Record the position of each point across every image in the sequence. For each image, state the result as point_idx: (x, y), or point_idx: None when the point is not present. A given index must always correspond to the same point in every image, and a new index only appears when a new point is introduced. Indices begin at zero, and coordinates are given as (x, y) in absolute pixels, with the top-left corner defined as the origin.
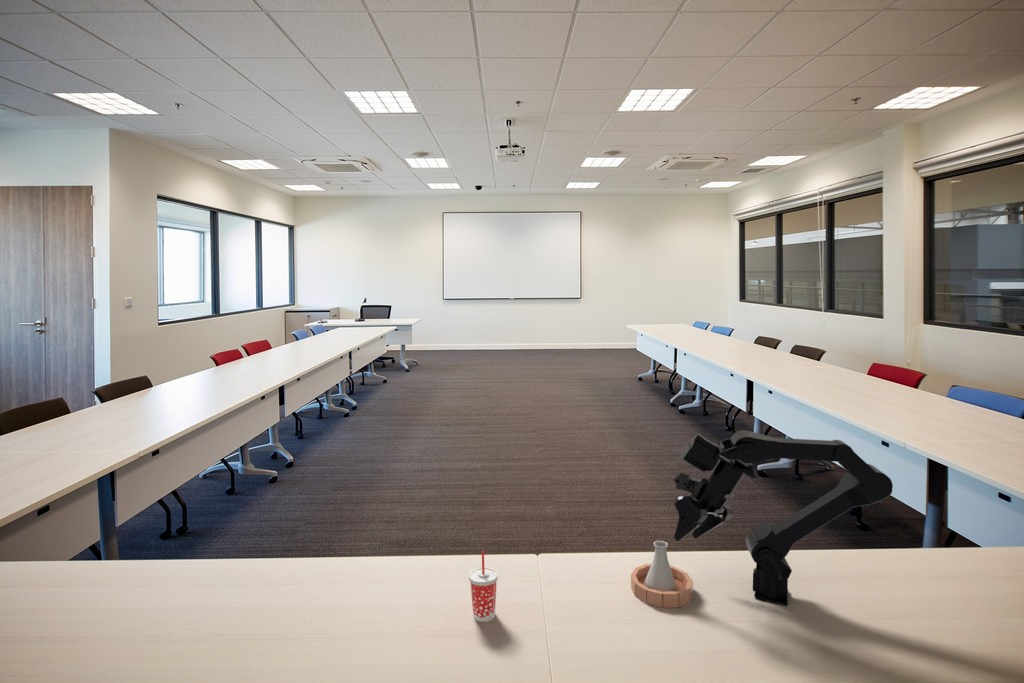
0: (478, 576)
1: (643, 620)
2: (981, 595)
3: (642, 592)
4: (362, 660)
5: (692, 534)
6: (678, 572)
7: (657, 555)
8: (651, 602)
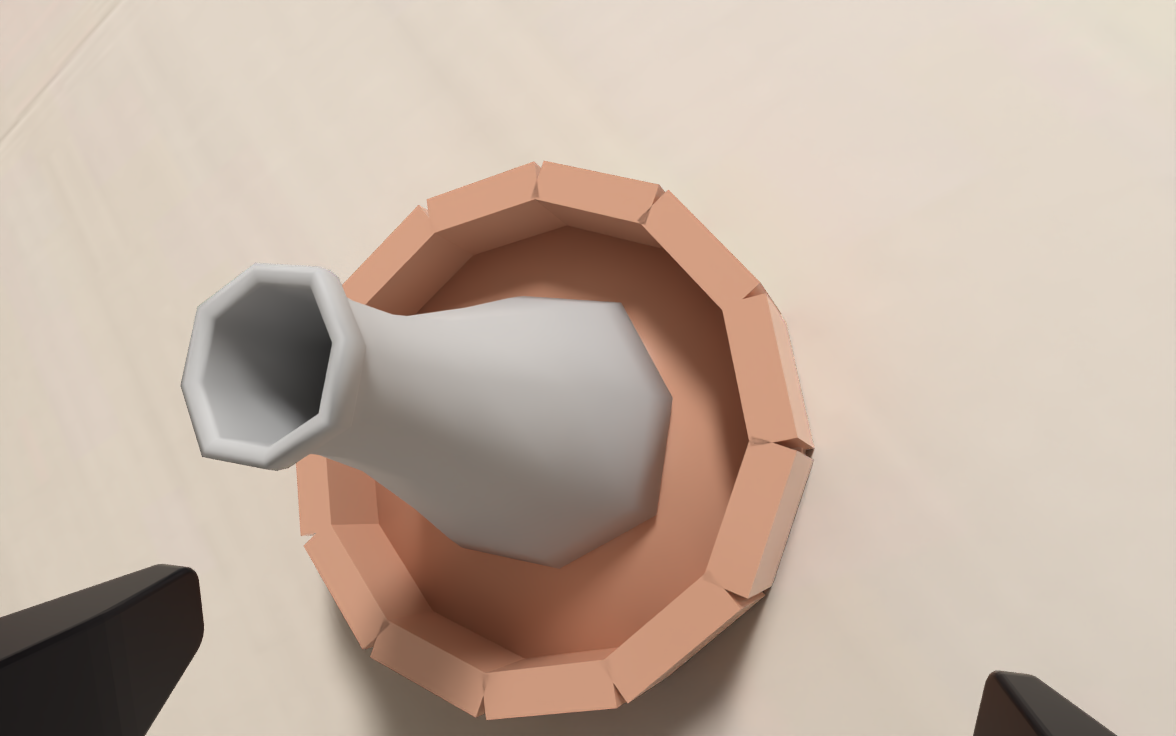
0: None
1: (211, 490)
2: None
3: None
4: None
5: (996, 681)
6: (727, 511)
7: (302, 374)
8: None
